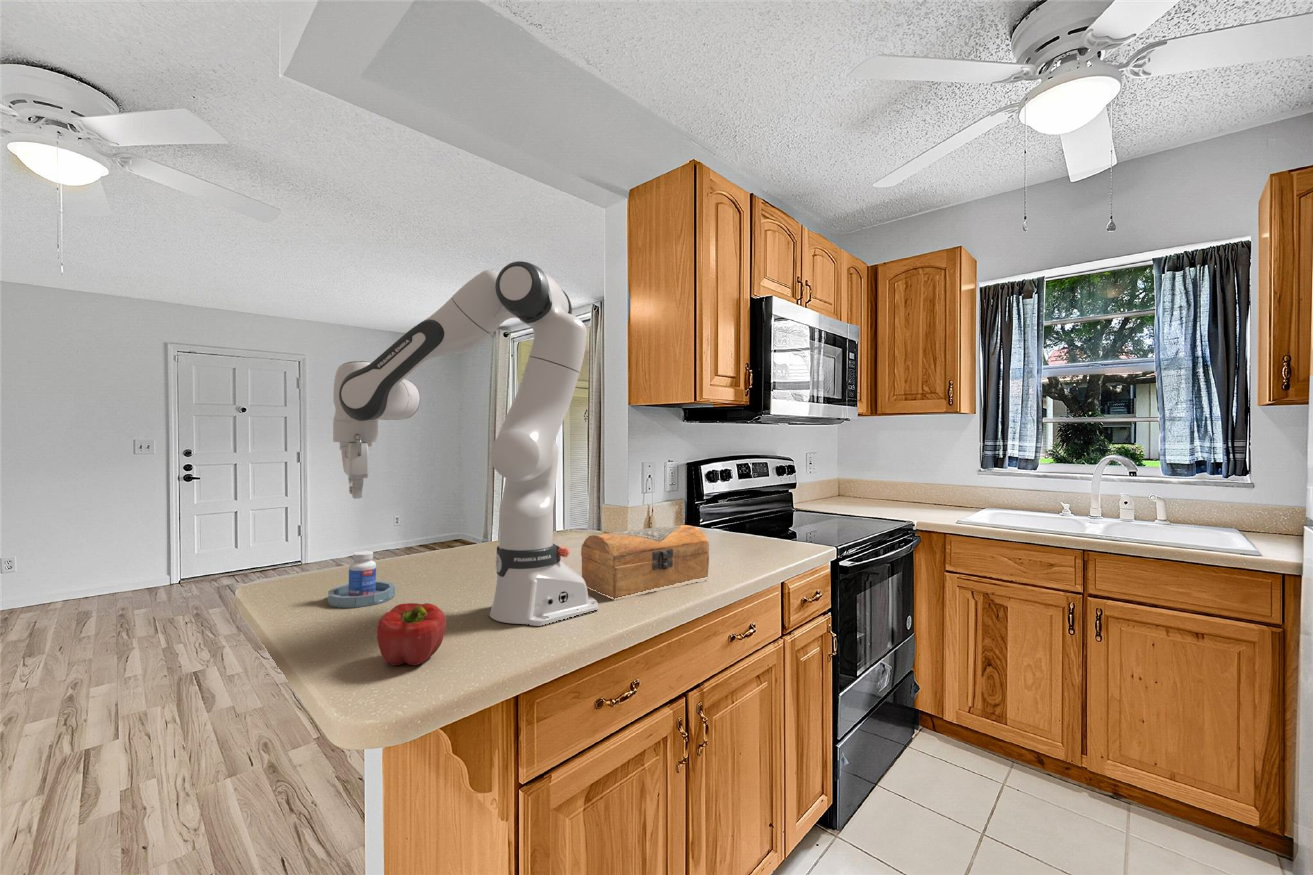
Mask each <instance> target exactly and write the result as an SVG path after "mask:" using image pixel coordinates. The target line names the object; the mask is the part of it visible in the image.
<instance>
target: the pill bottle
mask: <svg viewBox="0 0 1313 875" xmlns="http://www.w3.org/2000/svg"><path fill="white" fill-rule="evenodd" d="M373 558H374V552H373V551H372V550H371V551H370V550H364V551H356V552H353V553H352V560H353V562H351V563H350V564H349V566H348V584H349V588H348V596H362V595H370V594H375V592H376V581H377V563H376V561H374V560H373Z"/></svg>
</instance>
